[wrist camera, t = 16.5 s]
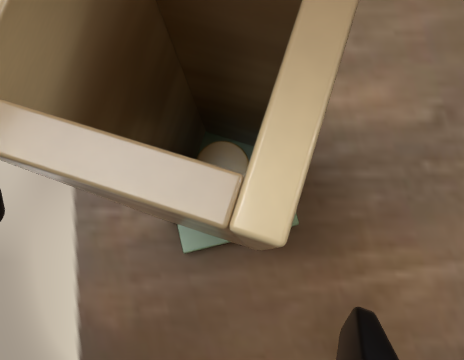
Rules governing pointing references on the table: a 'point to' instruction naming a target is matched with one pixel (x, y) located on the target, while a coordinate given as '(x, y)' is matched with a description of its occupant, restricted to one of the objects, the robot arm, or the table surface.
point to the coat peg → (227, 157)
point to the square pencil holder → (173, 102)
